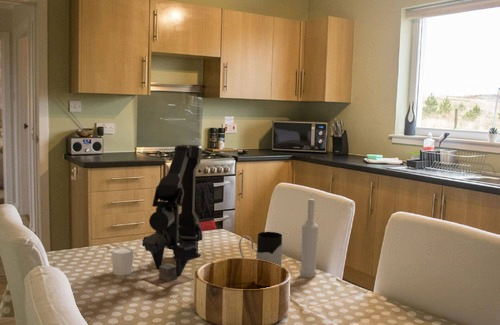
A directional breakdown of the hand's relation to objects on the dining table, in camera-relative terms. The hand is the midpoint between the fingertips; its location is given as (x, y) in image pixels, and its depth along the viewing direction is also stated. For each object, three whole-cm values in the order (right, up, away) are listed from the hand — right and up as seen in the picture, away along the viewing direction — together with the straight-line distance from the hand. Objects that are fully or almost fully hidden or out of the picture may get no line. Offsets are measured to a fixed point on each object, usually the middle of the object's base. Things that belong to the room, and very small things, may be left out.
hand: (168, 272), depth 160 cm
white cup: (-15, -1, +5) cm, 16 cm away
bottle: (+44, -3, +8) cm, 45 cm away
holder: (+28, -3, +2) cm, 28 cm away
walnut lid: (0, -3, 0) cm, 3 cm away
